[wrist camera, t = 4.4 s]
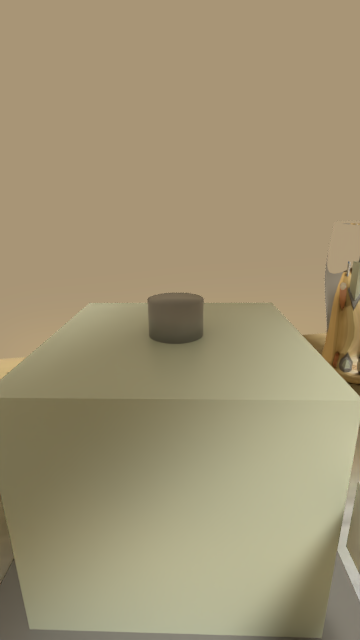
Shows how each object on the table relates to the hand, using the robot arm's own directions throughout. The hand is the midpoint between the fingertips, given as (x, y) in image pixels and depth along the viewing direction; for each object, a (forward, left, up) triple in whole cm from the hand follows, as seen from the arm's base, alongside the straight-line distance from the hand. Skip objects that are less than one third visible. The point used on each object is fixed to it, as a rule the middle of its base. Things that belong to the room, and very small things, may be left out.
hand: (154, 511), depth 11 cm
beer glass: (+1, -29, -7) cm, 30 cm away
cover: (+3, -4, -6) cm, 8 cm away
